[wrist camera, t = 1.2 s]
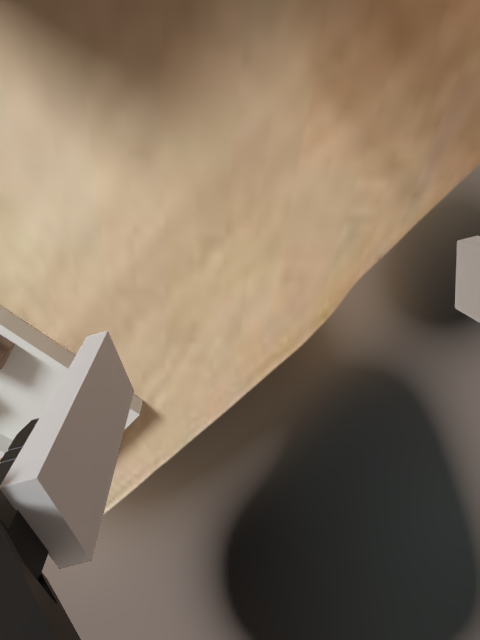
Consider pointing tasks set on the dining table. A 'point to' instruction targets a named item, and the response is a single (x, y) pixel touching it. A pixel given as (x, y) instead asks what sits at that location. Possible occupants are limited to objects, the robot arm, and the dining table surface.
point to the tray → (32, 377)
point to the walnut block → (5, 349)
